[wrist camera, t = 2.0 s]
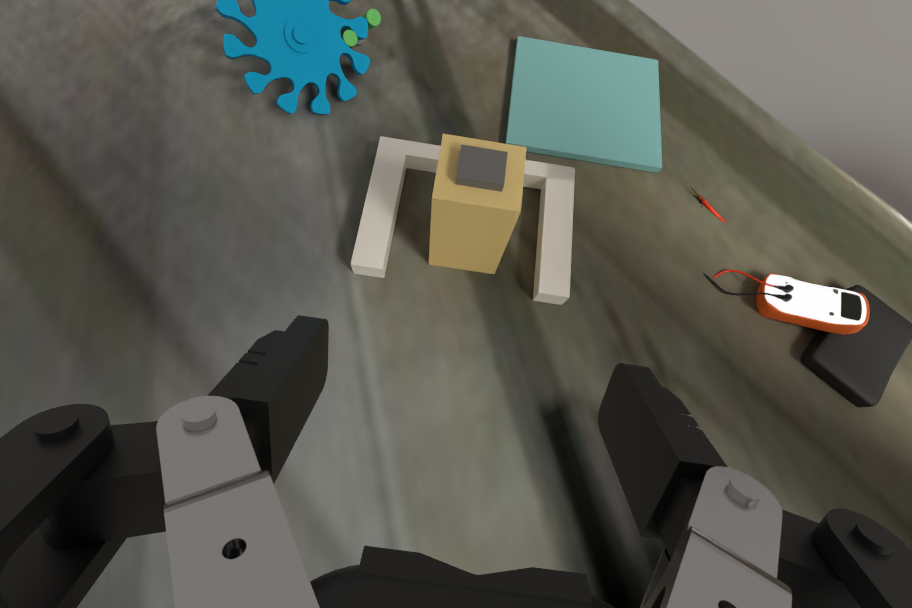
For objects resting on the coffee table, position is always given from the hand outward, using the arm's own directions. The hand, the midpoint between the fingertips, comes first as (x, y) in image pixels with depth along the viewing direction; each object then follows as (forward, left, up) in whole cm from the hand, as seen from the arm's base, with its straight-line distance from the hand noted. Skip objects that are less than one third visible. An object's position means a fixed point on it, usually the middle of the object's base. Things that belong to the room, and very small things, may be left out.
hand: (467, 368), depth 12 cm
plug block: (0, -12, -15) cm, 19 cm away
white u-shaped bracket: (0, -13, -15) cm, 19 cm away
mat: (-8, -26, -15) cm, 30 cm away
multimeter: (-21, -11, -15) cm, 28 cm away
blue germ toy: (+13, -24, -15) cm, 31 cm away
